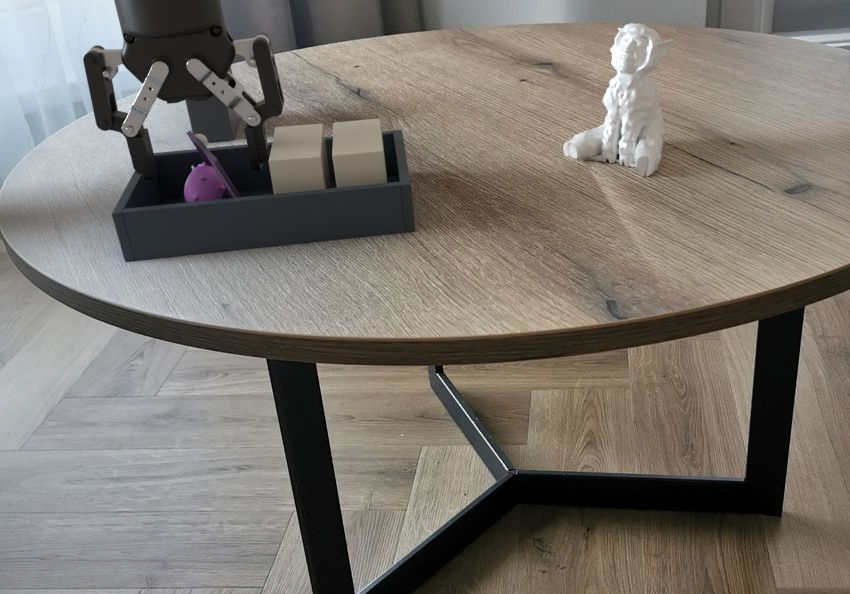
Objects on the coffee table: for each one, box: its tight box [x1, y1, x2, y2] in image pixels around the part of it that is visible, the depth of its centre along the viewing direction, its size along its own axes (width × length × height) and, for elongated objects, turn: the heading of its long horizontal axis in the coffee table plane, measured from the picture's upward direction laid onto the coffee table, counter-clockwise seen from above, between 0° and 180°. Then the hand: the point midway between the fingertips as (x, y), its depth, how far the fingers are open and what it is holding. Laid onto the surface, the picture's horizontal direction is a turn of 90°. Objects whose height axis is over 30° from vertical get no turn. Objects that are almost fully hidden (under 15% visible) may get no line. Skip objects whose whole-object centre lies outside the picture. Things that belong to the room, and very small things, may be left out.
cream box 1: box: [269, 123, 331, 194], centre depth 80 cm, size 4×8×6 cm, turn 8°
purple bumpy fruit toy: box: [184, 130, 241, 203], centre depth 79 cm, size 7×5×9 cm
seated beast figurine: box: [562, 22, 675, 177], centre depth 87 cm, size 10×9×12 cm
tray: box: [111, 129, 416, 263], centre depth 80 cm, size 23×14×5 cm, turn 98°
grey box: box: [184, 66, 242, 143], centre depth 102 cm, size 4×8×7 cm, turn 8°
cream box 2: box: [332, 118, 388, 188], centre depth 80 cm, size 4×8×6 cm, turn 8°
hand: (205, 172), depth 78 cm, fingers open, 8 cm apart
